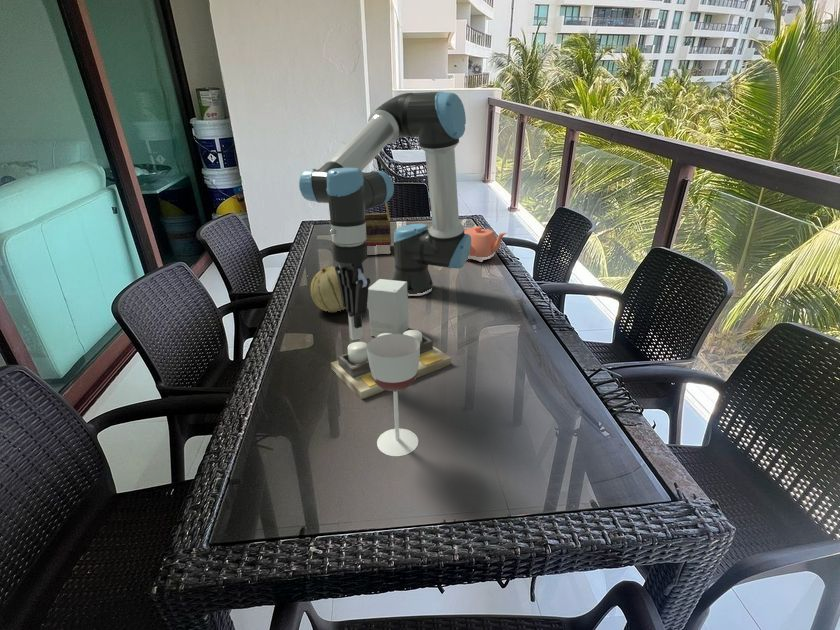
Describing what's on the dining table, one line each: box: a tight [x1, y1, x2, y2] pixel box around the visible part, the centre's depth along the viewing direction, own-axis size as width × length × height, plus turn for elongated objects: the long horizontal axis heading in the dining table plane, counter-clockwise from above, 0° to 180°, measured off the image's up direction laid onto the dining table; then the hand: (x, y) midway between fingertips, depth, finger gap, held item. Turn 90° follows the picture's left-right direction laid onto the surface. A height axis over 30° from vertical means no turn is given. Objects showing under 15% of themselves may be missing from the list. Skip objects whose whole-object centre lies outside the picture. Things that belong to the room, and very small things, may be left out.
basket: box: [328, 201, 392, 246], centre depth 202 cm, size 26×15×35 cm, turn 97°
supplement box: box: [367, 278, 410, 337], centre depth 133 cm, size 9×9×15 cm
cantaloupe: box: [310, 266, 346, 313], centre depth 147 cm, size 15×15×15 cm
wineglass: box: [367, 334, 420, 457], centre depth 87 cm, size 9×10×22 cm
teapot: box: [464, 225, 508, 257], centre depth 194 cm, size 18×18×14 cm
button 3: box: [403, 329, 423, 344], centre depth 122 cm, size 5×5×4 cm
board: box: [330, 334, 452, 400], centre depth 117 cm, size 16×26×4 cm, turn 125°
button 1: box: [347, 341, 368, 364], centre depth 113 cm, size 5×5×4 cm
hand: (356, 337), depth 111 cm, fingers closed
